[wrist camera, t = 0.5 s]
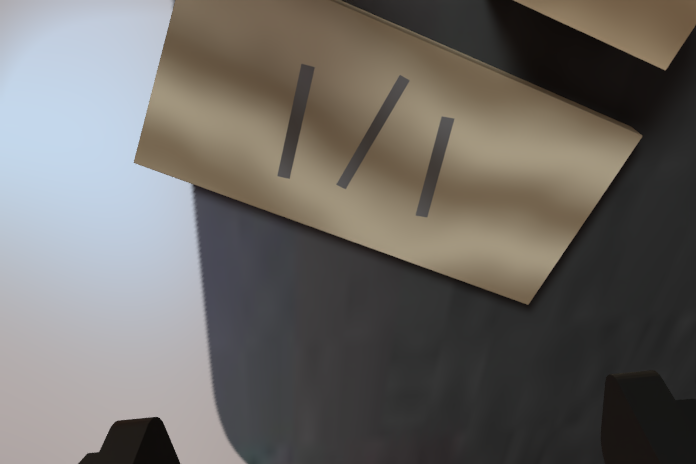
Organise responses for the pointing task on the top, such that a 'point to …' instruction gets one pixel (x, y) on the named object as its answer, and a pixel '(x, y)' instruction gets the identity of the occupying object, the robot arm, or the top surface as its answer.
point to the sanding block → (627, 23)
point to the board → (378, 137)
